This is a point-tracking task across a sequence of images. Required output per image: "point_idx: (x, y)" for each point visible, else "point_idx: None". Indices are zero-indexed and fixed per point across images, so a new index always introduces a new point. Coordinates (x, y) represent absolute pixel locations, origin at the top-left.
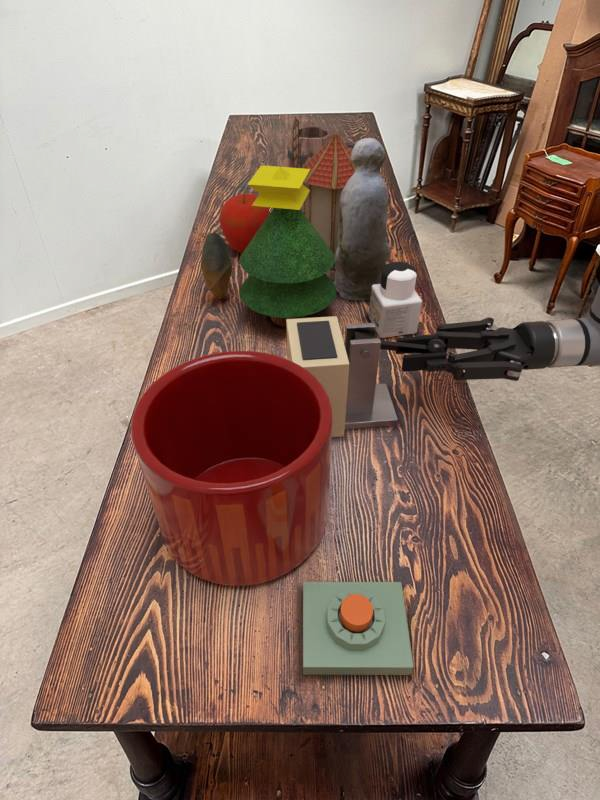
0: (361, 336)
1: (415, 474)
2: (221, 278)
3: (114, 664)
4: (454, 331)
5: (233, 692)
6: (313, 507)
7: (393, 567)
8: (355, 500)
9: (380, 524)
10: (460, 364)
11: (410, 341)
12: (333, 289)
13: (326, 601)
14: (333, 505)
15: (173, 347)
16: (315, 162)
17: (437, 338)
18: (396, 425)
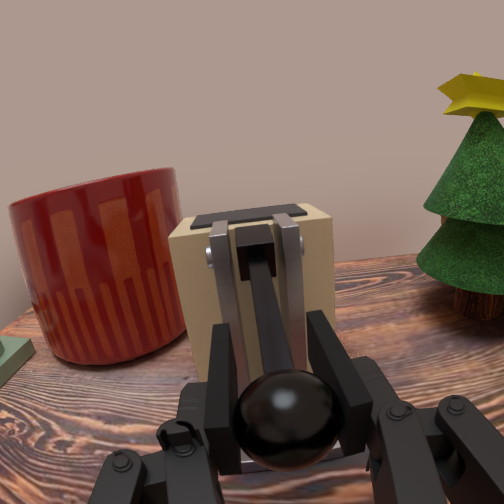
0: (250, 230)
1: (90, 472)
2: None
3: None
4: (468, 477)
5: (16, 325)
6: (25, 280)
7: (4, 405)
8: (87, 397)
9: (45, 410)
10: (119, 460)
11: (317, 340)
12: None
13: (8, 346)
14: (93, 378)
15: (364, 263)
16: None
17: (348, 404)
18: (218, 473)
